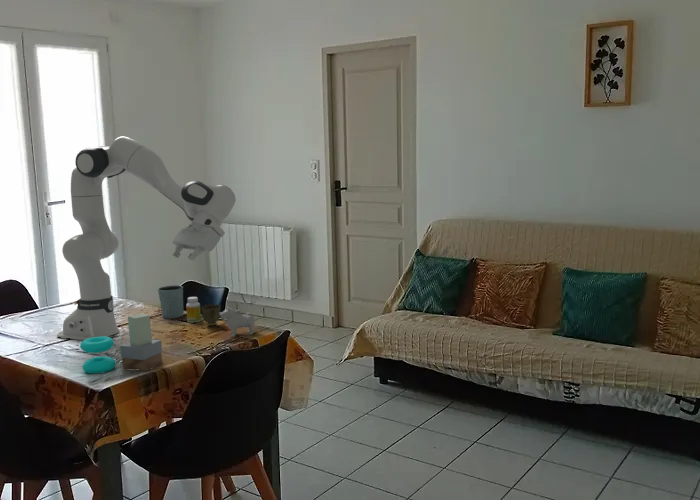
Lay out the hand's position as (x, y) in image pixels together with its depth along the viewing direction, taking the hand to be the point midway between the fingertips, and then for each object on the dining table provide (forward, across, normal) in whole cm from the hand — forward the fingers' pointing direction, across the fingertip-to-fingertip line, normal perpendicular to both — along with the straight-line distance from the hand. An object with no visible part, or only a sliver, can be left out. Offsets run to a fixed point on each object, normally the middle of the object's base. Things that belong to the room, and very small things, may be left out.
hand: (182, 258), depth 235 cm
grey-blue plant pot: (+6, -49, +40) cm, 64 cm away
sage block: (+31, +2, +4) cm, 31 cm away
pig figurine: (+6, -3, +40) cm, 40 cm away
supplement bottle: (+6, -33, +40) cm, 53 cm away
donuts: (+44, -6, +2) cm, 45 cm away
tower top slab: (+34, +1, +7) cm, 34 cm away
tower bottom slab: (+36, +2, +10) cm, 38 cm away
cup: (+6, -22, +41) cm, 46 cm away
